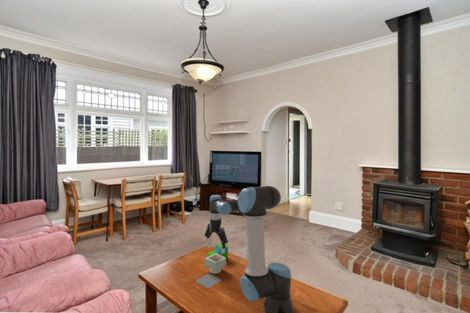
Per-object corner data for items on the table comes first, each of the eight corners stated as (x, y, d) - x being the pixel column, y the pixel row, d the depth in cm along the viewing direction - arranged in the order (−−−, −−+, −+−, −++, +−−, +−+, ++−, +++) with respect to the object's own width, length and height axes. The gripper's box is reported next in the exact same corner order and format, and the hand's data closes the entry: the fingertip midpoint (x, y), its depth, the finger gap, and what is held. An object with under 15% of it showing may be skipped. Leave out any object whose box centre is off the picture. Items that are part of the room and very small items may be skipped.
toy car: (206, 258, 186) (206, 245, 186) (223, 255, 192) (223, 242, 191) (211, 264, 177) (211, 250, 177) (228, 261, 183) (228, 247, 182)
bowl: (223, 270, 169) (223, 265, 168) (215, 275, 163) (215, 269, 163) (215, 266, 174) (215, 261, 173) (207, 270, 168) (207, 265, 168)
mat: (222, 280, 157) (222, 280, 157) (207, 288, 148) (207, 288, 148) (209, 273, 165) (209, 273, 165) (195, 281, 156) (195, 280, 156)
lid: (226, 265, 168) (226, 257, 168) (215, 270, 161) (215, 262, 161) (216, 260, 175) (216, 252, 175) (204, 265, 168) (204, 257, 167)
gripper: (233, 221, 160) (233, 253, 161) (207, 214, 177) (207, 243, 178) (224, 223, 155) (224, 257, 156) (199, 216, 172) (199, 246, 173)
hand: (215, 250), depth 167 cm, fingers open, 13 cm apart
